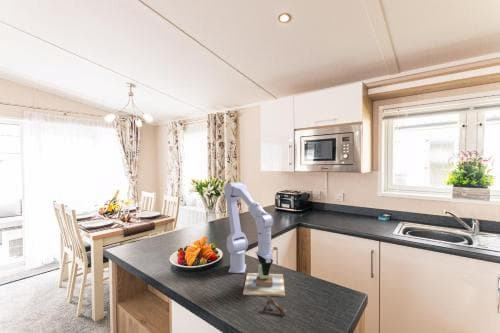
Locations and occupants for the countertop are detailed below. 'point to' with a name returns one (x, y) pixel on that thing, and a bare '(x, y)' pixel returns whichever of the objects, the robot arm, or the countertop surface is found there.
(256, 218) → the robot arm
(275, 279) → the build board
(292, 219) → the countertop surface
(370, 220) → the countertop surface
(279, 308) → the brown triangle frame
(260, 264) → the green block
